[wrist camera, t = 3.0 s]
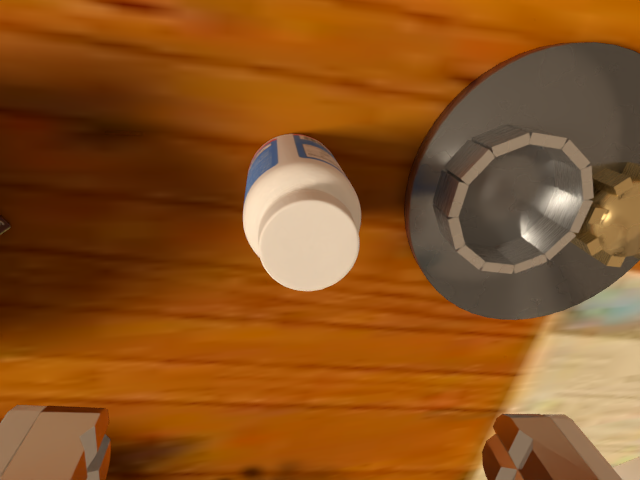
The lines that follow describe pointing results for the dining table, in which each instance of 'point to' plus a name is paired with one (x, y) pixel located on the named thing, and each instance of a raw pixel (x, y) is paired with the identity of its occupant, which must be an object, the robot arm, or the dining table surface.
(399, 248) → the dining table surface
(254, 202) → the pill bottle
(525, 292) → the carrier plate
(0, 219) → the protein box
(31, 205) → the dining table surface
